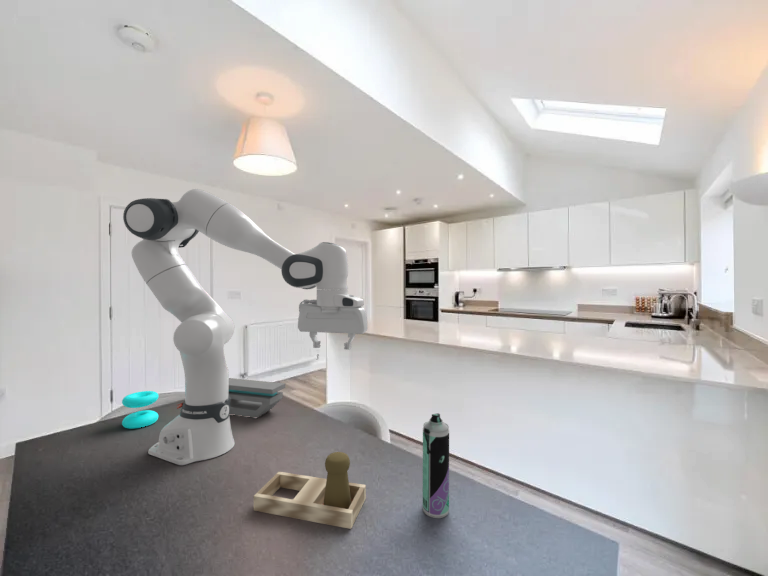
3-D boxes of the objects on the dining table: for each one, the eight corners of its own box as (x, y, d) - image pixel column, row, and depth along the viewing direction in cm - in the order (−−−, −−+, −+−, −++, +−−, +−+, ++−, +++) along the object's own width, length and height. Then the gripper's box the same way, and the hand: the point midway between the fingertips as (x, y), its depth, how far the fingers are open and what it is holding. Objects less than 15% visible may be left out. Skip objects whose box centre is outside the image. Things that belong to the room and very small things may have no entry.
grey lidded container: (285, 412, 123) (285, 383, 123) (272, 420, 115) (272, 389, 115) (229, 405, 130) (229, 377, 130) (213, 413, 123) (214, 383, 123)
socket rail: (253, 510, 69) (253, 496, 69) (278, 484, 78) (278, 471, 78) (351, 529, 64) (351, 513, 64) (365, 498, 73) (365, 484, 73)
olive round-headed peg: (347, 519, 66) (347, 463, 66) (318, 515, 67) (318, 460, 67) (355, 499, 72) (355, 449, 72) (328, 496, 73) (328, 446, 73)
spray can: (443, 522, 66) (443, 421, 66) (418, 512, 69) (418, 415, 69) (452, 506, 71) (453, 412, 70) (429, 497, 73) (429, 407, 73)
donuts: (159, 388, 119) (157, 396, 111) (159, 416, 119) (157, 426, 111) (124, 392, 114) (119, 401, 106) (124, 421, 114) (119, 432, 106)
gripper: (293, 299, 94) (293, 348, 94) (362, 300, 89) (362, 352, 89) (304, 299, 100) (304, 344, 100) (369, 300, 95) (369, 348, 95)
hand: (332, 348), depth 95 cm, fingers open, 8 cm apart
